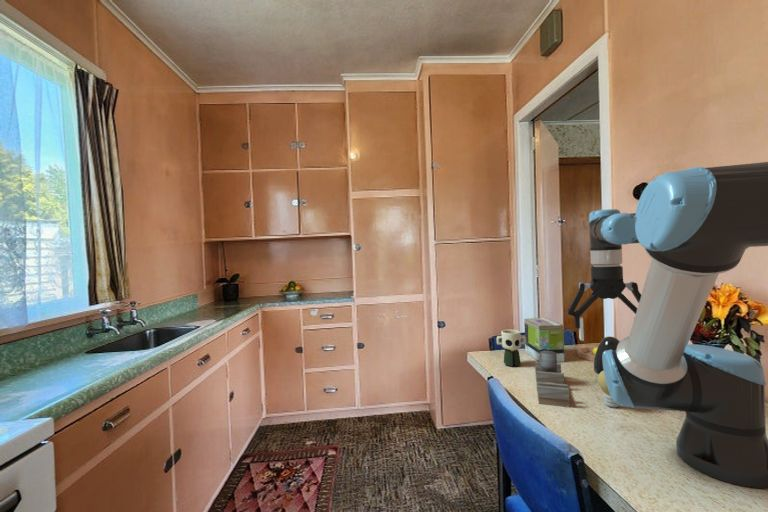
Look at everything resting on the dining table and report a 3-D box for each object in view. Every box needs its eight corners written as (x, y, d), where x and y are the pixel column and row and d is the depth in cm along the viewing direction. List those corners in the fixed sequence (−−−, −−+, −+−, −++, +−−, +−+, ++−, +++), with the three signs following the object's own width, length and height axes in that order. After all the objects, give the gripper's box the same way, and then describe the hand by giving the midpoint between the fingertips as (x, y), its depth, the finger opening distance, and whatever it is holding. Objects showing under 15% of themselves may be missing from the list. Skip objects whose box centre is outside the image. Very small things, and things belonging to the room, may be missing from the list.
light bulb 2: (598, 354, 142) (602, 347, 140) (603, 363, 136) (607, 355, 135) (590, 352, 142) (593, 344, 141) (594, 360, 137) (598, 353, 136)
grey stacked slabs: (569, 407, 98) (568, 372, 98) (538, 403, 101) (537, 369, 101) (560, 376, 120) (559, 348, 120) (535, 374, 123) (534, 346, 123)
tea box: (565, 362, 135) (564, 324, 134) (539, 363, 135) (538, 325, 135) (548, 350, 150) (546, 316, 150) (524, 351, 150) (523, 317, 150)
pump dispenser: (638, 389, 107) (637, 340, 107) (601, 388, 109) (599, 340, 109) (623, 377, 117) (621, 332, 117) (589, 376, 119) (587, 332, 119)
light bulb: (601, 398, 102) (600, 365, 102) (627, 404, 98) (626, 369, 98) (595, 406, 98) (594, 371, 98) (622, 413, 93) (621, 376, 93)
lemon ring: (623, 363, 131) (623, 357, 130) (580, 360, 136) (580, 355, 136) (614, 352, 144) (613, 347, 144) (575, 350, 149) (575, 345, 149)
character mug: (499, 368, 132) (498, 334, 132) (495, 361, 139) (494, 329, 139) (529, 367, 131) (528, 333, 130) (524, 361, 138) (522, 329, 137)
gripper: (655, 263, 96) (658, 339, 96) (555, 265, 105) (558, 335, 106) (666, 264, 89) (669, 346, 89) (558, 267, 98) (561, 341, 99)
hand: (609, 340), depth 98 cm, fingers open, 13 cm apart
